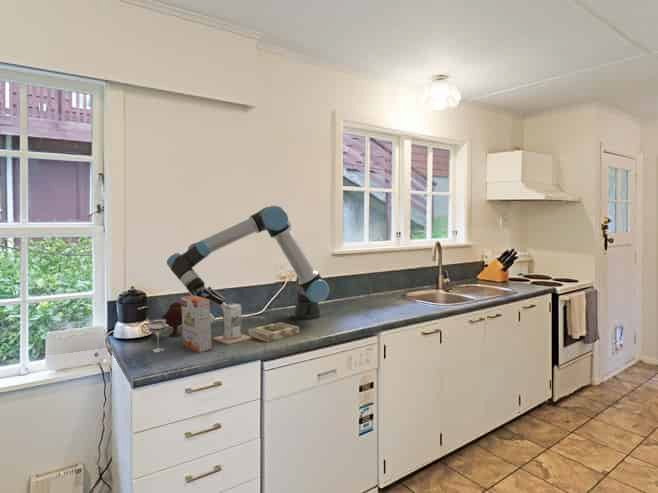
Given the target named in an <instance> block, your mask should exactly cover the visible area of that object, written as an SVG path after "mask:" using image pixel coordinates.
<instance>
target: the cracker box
mask: <svg viewBox="0 0 658 493" xmlns="http://www.w3.org/2000/svg"><path fill="white" fill-rule="evenodd" d="M180 301H181V302H180V303H181V305H182V324H181V325H182V345H183V346H184V347H185V348H188V349H190V350H192V351H194V352H197V353H200V354H201V353H203V352H206V351H207V352H208V351H210V350H212V349H213V348H212V347H213V346H212V327H211V326H212V325H211V324H212V323H211V321H210V313H211V301H210V299H206V298H202V297H198V296H195V295H191V296H189V295H185V296H181V298H180Z"/></svg>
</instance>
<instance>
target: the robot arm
mask: <svg viewBox="0 0 658 493" xmlns="http://www.w3.org/2000/svg"><path fill="white" fill-rule="evenodd" d="M264 231H267V233H268V235H269V236H270V238H273V239H275V240H276V241H277V244H278V246H279V247H280V249H281V251H282V253H283V254H284V255H285V256H284V257H286V260H287V261H288V263H289V264H290V266H291V267H292V269H293V271H294V273H295V274H296V277H295V284H296V285H295V286H296V288H295V289H296V303H295V307H294V310H293V317H294V318H295V319H296V318H297V319H301V320H303V319H304V320H308V319H311V320H312V319H317V318H320V317H322V310H321V307H320V304H319V303H321V302H323V301H325V300H326V299H327V298H328V296H329V293H330V287H329V284H328V283H327V282H326V281H325V280H324V279H323V278H322V276H321V274H320V273H319V271H317V270H315V269H314V268H313V266H312V264H311V263H310V261H309V259H308V257H307V256H306V254H305V253H304V251H303V249H302V247H301V246H300V244H299V242H298V240H297V239H296V237H295V235H294V233H293V232H292V224H291V222H290V220H289V215H288V213H287V211H286V210H285V209H284V208H283V207H282V206H279V205H270V206H265V207H263V208H262V209H260V210H259V211H257V212H256V213H254V214H252V215H251V214H250V216H249V217H248V219H246V220H243V221H241V222H239V223H237V224H234V225H232V226H230V227H228V228H226V229H224V230H222V231H219V232H217V233H215V234H213V235H210V236H209V237H206V238H204V239H201V240H200V241H197V242H195V243H192V244H190V245H189V246H188V249H187V251H185V252H184V253H182V254H181V253H179V252H175V253H174V254H172V255H171V256H169V257H168V258H167V260H166V265H167V266H168V267H169V269H170V271H171V272H172V273H173V274H174V275H175V276H176V278H177V279H178V280H179V282H181V283H182V285H183V286H184V287H185V288H186V289H187V291H188V292H189V293H188V296H191V295H195V296H198V297H202V298H206V299H209V300H211V301H212V302H214V303H216V304H217V305H218V304H219V307H220V308H221V310H223V305H227V303H226V300H227V298H225V297H224V296H223V295H221V294H220V293H218V292H217V291H216V290H214V289H213V288H212V287H211V286H208V287H206V286H205V284H206V282H204V280H203V279H202V278H201V277H200V275H199V274H198V273H197V272H196V271H195V270H194V269H193V268H194V267H195V266H196V265H198V263H200V262H201V261H203V260H205V259H206V258H207V257H208V256H209V255H210V254H211V253H214V252H216V251H218V250H220V249H223V248H225V247H226V246H229V245H231V244H233V243H235V242H237V241H239V240H242V239H243V238H246V237H248V236H251V235H252V234H255V233H256V234H259V233H261V232H264ZM215 320H216V318H215V316H213V314H212V313H211V312H210V321H211V324H212V323H213V322H214V321H215Z"/></svg>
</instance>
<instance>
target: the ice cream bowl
mask: <svg viewBox="0 0 658 493" xmlns="http://www.w3.org/2000/svg"><path fill="white" fill-rule="evenodd" d="M161 319H165V320H166V322H165V323H166V325H167V326H169V327H171V328H172V329H173V330H172V332H171V333H170V334H168V336H169V337H170V338H177V336H178V337H181V336H183V333H181V332H180V331H178V327H180V326H181V325H182V305H181V302H177V301H176V302H173V303H171V304H170V305H169V309H168V310H167V311H166V312H165V313H164V314H163V315H161Z"/></svg>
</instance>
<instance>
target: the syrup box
mask: <svg viewBox="0 0 658 493" xmlns="http://www.w3.org/2000/svg"><path fill="white" fill-rule="evenodd" d="M222 326H223V327H222V336H223V337H224V338H228V339H235V338H238V337H241V334H242V305H241V304H239V303H229V304H226V305H223V309H222Z"/></svg>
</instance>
